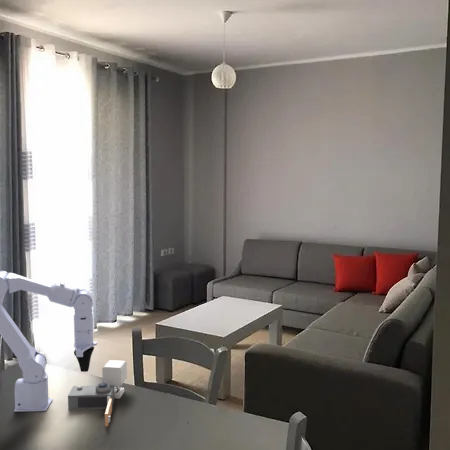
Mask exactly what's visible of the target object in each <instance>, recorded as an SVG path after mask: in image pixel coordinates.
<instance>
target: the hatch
mask: <svg viewBox="0 0 450 450" xmlns="http://www.w3.org/2000/svg"><path fill="white" fill-rule="evenodd" d="M112 412H113V405H112V398H110V396H108V397H107V408H106V409H105V412H104V426H105V427H109V423H110V422H111V416H112Z"/></svg>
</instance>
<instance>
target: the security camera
mask: <svg viewBox="0 0 450 450" xmlns="http://www.w3.org/2000/svg"><path fill="white" fill-rule="evenodd" d="M127 364H128V363H127V361H126V360H119V359H118V360H117V359H116V360H115V359H114V360H113V359H109V360H108V361H107V362H106V363H105V365H104V366H103V367H102V369H101V370H102V374H101V375H102V377H101V378H102V383H108V384H110V385H114V398H115V399H120V398H121V397H122V396H123V395H124V393H125V387H122V385H123V384H124V383H125V381H126V379H128V378H127V377H128V370H127V369H128V365H127Z"/></svg>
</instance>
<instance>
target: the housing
mask: <svg viewBox="0 0 450 450" xmlns="http://www.w3.org/2000/svg"><path fill="white" fill-rule="evenodd" d="M114 387H115V386H114V385H110V384H108V383H103V382H101V383H98V384H96V385H73V386H72V387H71V389H70V391H69V392H68V395H67V408H68V409H67V410H71V411H72V410H74V411H75V410H79V411H80V410H106V408H107V397H108V396H110V398H112V406H113V405H114V401H115V399H116V398H114Z"/></svg>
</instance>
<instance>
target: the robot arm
mask: <svg viewBox="0 0 450 450" xmlns="http://www.w3.org/2000/svg"><path fill="white" fill-rule="evenodd" d="M8 290H9V291H8ZM18 291H24V292H29V293H32V294H37V295H41V296H46V297H47V298H48V301H49V302H51V303H55V304H58V305H61V306H65V307H68V308H73V309H74V315H73V328H74V329H73V330H74V332H73V334H74V336H73V337H74V342H73V347H74V349H75V350H74V351H73V354H74V357H76V360H77V362H78V364H79V365H78V366H79V370H80V372H81V373H82V372H83V373H86V372H88V371H89V369H90V365H91V364H90V363H91V358H92V355H93V352H94V349H95V346H97V345H98V341H94V315H93V305H94V302H93V295H92V294H91V293H90V291H88V290H86V289H81V288H78V287H76V288H73V287H69V286H66V285H65V283H64V282H60V283H54V284H52V285H49V284H46V283H43V282H40V281H37V280H34V279H32V278H29V277H25V276H23V275H19V274H17V273H14V272H7V271H5V270H0V336H1V337H2V339H3V340H4V342H5V343H6V344H7V346H8V347H9V349H10V350H11V351H12V353H13V354H14V356H15V357H16V358H17V362H18V365H19V367H20V369H21V371H22V378H20V377H19V378H18V379H17V380H16V381H15V383H14V407H15V408H14V411H13V412H22V413H23V412H45V411H47V410H48V408H49V407H50V405H51V403H52V402H53V400H54V399H53V398H51V397H49V382H48V381H49V378H48V377H49V376H48V373H47V372H46V366H47V363H48V359H47V357H46V356H45V355H44V354H43V353H41V352H39V351H38V350H37V349H36V348H35V347H34V346H32V345H31V344H30V342H29V341H28V340H27V338H26V337H25V336H24V334H23V332H22V331H21V330H20V328H19V327H18V325H17V324H16V323H15V321H14V320H13V319H12V317H11V316H10V314H9V313H8V311H7V310H6V308H4V306H3V302H4V298H5V295H6V293H7V292H9V294H12V293H15V292H18Z"/></svg>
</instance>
